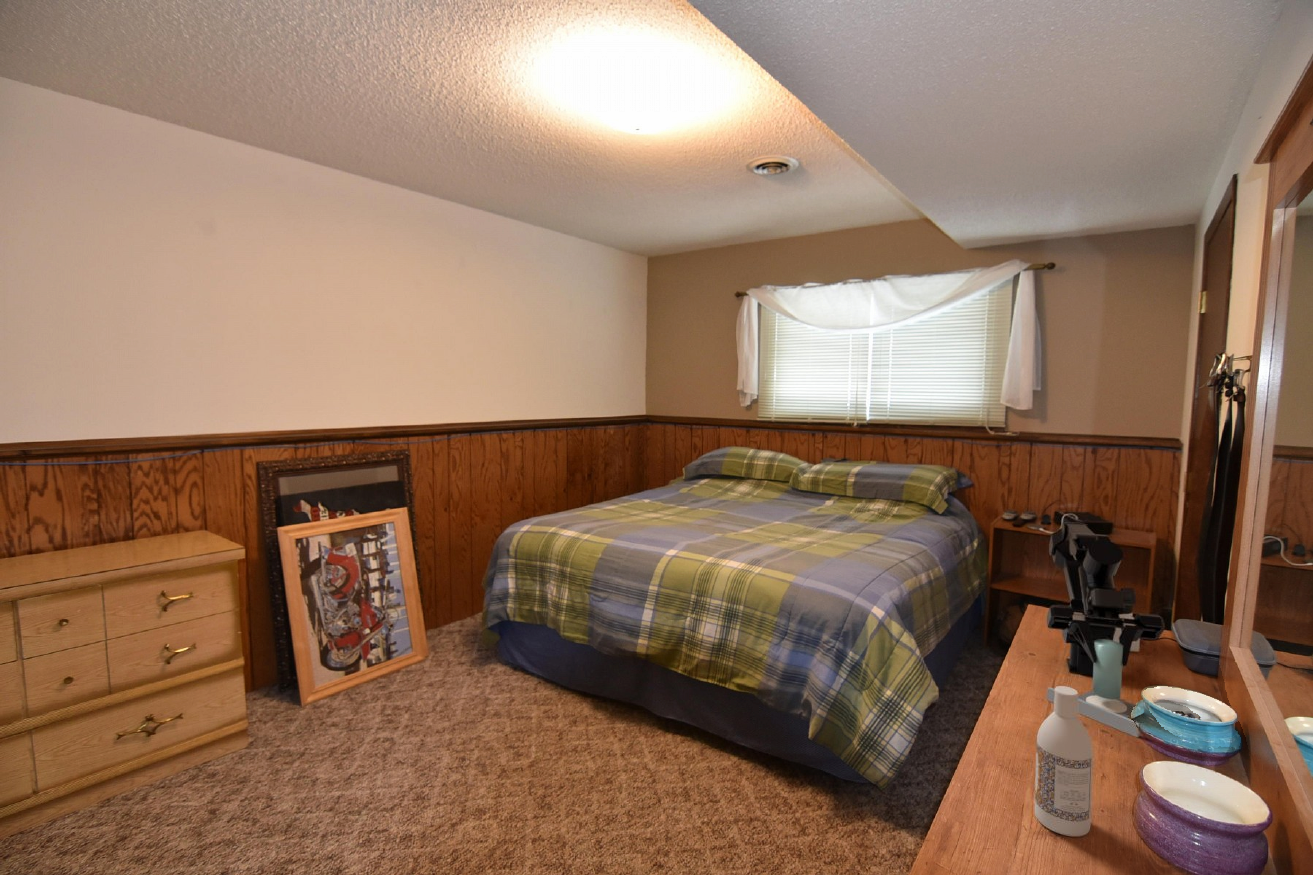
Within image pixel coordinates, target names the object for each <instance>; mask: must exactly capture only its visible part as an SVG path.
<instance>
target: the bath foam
mask: <svg viewBox="0 0 1313 875" xmlns="http://www.w3.org/2000/svg"><path fill="white" fill-rule="evenodd" d="M1054 689H1055V698H1054V703H1053V712H1051V713H1050V715H1048V717H1046V719H1045V720H1044V721H1043V722H1042V724H1041V725H1040V726H1039V728H1038V731H1037V736H1036V749H1035V750H1036V752H1035V754H1036V755H1035V781H1034V783H1035V784H1034V814H1035V816H1036V819H1037V820H1038V821H1039V823H1040V824H1042V825H1043V826H1044V827H1045V828H1047V829H1049V830H1050V831H1053V832H1054V833H1057V834H1060V835H1063V836H1067V837H1082V836H1086V835H1087V834H1088V833H1089V832H1090V829H1091V824H1092V822H1091V820H1092V799H1093V798H1092V795H1093V773H1094V771H1093V769H1094V746H1093V742H1092V739H1091V736H1090V734H1089V732H1088V730H1087V729H1086V727H1085V725H1084V724H1083V722H1082V721H1081V719H1080V718H1079V716H1078V715H1079V713H1078V699H1079V696H1080V695H1079V692H1078V690H1076V689H1074V688H1073V687H1069V686H1065V685H1064V686H1063V685H1059V686H1056V687H1055V688H1054Z"/></svg>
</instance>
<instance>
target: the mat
mask: <svg viewBox="0 0 1313 875" xmlns="http://www.w3.org/2000/svg"><path fill="white" fill-rule="evenodd" d="M1079 699H1081V700H1084V701H1086V702H1089V703H1091V704H1094V705H1096V706H1099V707H1101V708H1104V709H1106V710H1109V711H1111V712H1114V713H1116V714H1119V715H1121V716H1124V717H1126V718H1129V719H1131V712H1132V710H1133V707H1135V706H1136V704H1134V703H1131V702H1128V701H1126V700H1123V699H1121V698H1120V699H1115V700H1113V699H1106V698H1102V697H1099V696H1097V695H1096V694H1094V693H1093V691H1092V690H1089V691H1088V692H1085V693H1083V694H1082V695H1079Z"/></svg>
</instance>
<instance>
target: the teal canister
mask: <svg viewBox="0 0 1313 875" xmlns="http://www.w3.org/2000/svg"><path fill="white" fill-rule="evenodd" d="M1094 649H1095V653H1096V663H1094V666H1093V676H1092V690H1091V691H1093V693H1094V694H1096V695H1097V696H1099V697H1102V698H1106V699H1113V700H1115V699H1121V697H1122V679H1123V678H1122V676H1123V664H1122V659H1123V645H1122V644H1120V643H1118V642H1116V641H1112V640H1107V639H1097V640H1095V642H1094Z"/></svg>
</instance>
